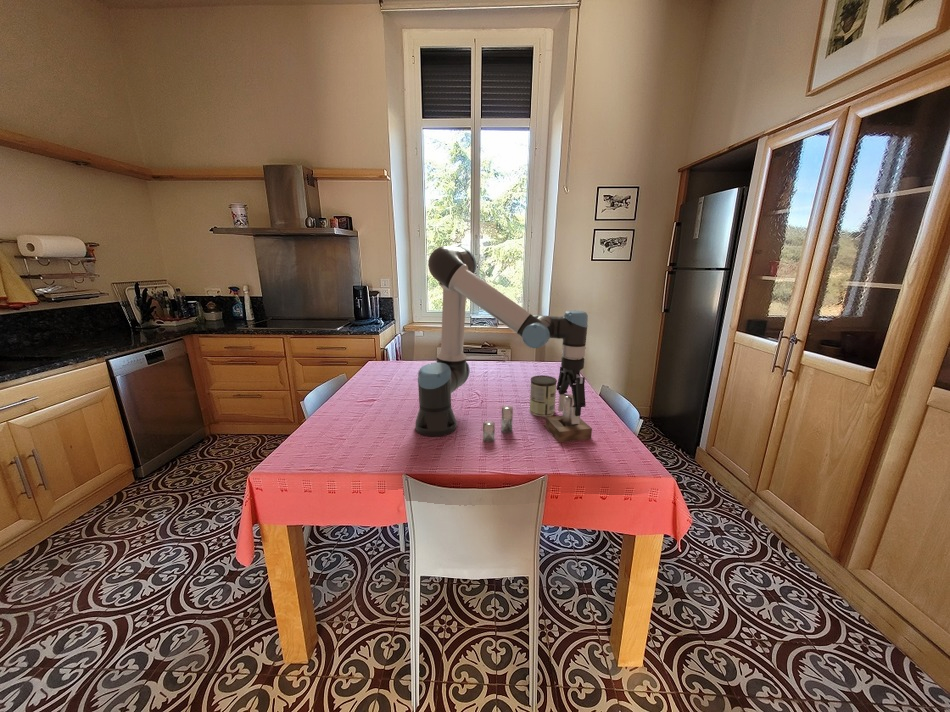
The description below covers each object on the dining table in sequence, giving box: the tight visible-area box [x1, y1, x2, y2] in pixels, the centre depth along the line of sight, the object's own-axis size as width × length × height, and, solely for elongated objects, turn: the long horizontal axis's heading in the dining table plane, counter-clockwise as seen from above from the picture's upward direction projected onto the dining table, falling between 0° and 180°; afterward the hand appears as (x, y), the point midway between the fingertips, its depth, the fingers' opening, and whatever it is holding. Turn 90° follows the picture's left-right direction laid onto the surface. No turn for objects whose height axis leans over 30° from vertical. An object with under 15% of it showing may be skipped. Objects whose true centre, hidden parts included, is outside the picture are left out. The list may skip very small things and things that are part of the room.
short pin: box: [482, 420, 496, 443], centre depth 122 cm, size 4×4×6 cm
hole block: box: [544, 414, 593, 443], centre depth 127 cm, size 12×12×4 cm
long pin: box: [562, 393, 574, 427], centre depth 125 cm, size 4×4×14 cm
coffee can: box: [529, 374, 558, 418], centre depth 143 cm, size 10×10×14 cm
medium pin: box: [500, 405, 514, 434], centre depth 128 cm, size 4×4×9 cm
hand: (568, 416), depth 126 cm, fingers open, 10 cm apart
